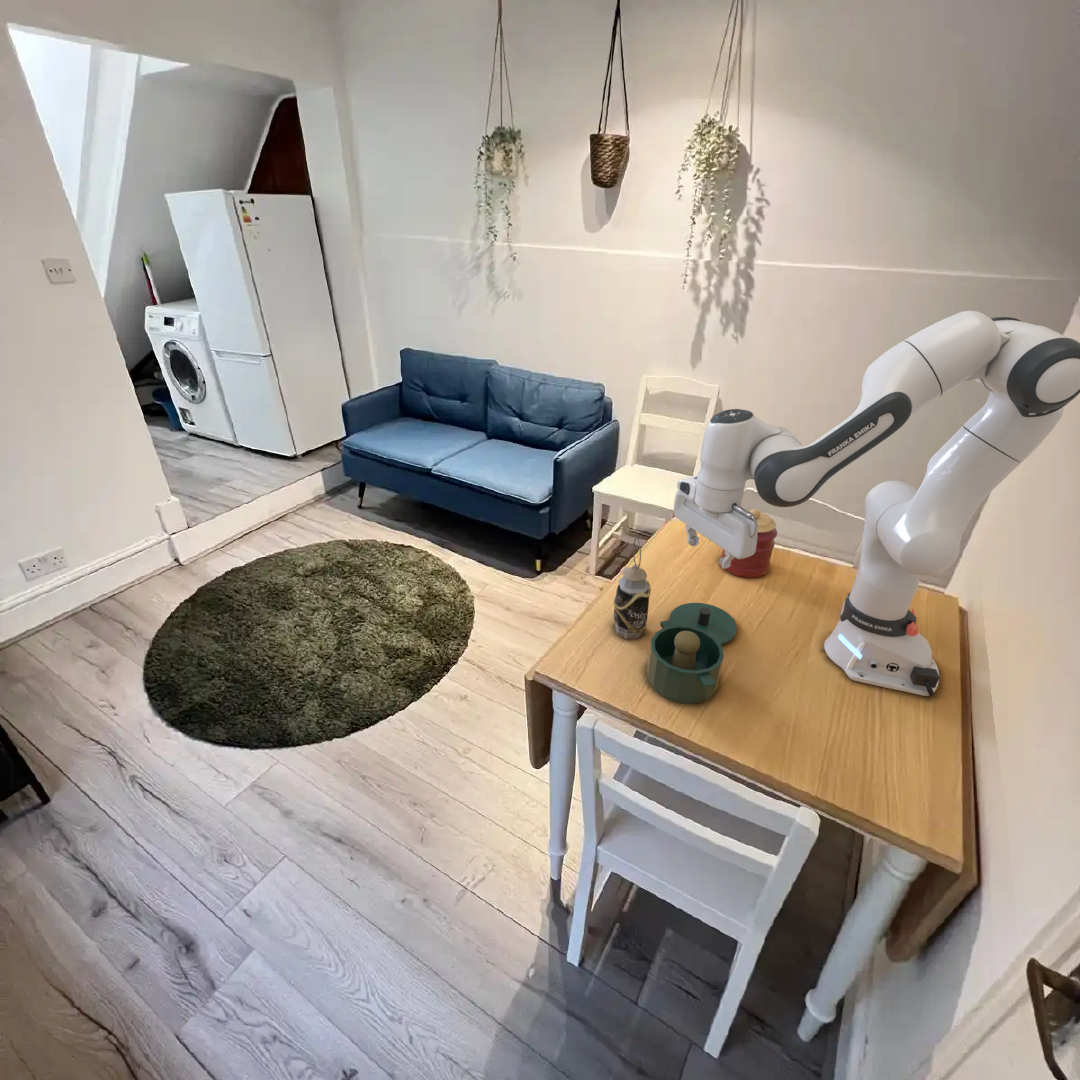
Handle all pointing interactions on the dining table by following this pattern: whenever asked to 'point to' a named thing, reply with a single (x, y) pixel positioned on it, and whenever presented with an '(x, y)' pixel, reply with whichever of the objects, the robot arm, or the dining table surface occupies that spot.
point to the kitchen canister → (764, 547)
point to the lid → (706, 620)
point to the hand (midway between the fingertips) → (707, 555)
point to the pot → (680, 681)
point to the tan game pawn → (685, 650)
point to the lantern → (632, 601)
